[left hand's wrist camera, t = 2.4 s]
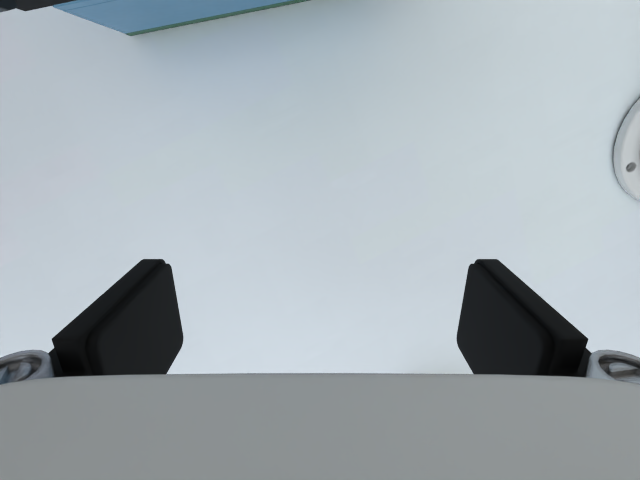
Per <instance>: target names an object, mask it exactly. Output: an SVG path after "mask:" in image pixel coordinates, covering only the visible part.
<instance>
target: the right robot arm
mask: <svg viewBox="0 0 640 480" xmlns="http://www.w3.org/2000/svg"><path fill="white" fill-rule="evenodd" d="M71 1H76V0H0V12H3V11H8V10H12V9H15V8H17V9H20V10H23V11H28V10H33V9H38V8H43V7H47V6H52V5H57V4H62V3H67V2H71Z"/></svg>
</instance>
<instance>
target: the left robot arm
mask: <svg viewBox="0 0 640 480" xmlns="http://www.w3.org/2000/svg"><path fill="white" fill-rule="evenodd" d="M613 162H614V170H615V174H616V176H617V179H618V182H619V183H620V185H621V186H622V188H623V189H624V190H625V192H627V193H628V194H629V195H630V196H632V197H633V198H634V199H637V200H639V201H640V98H639V99H638V101H637V102H636V103H635V104H634V105H633V106H632V108H631V110H630V111H629V113H628V114H627V116H626V117H625V119H624V121H623V123H622V125H621V128H620V130H619V132H618V135H617V139H616V142H615V146H614V157H613ZM52 342H53V345H54V349H53V350H51V351H50V352H49V353H47V352H44V351H42V350H27V351H20V352H16V353H13V354H9V355H6V356H4V357H1V358H0V480H640V358H639V357H636V356H634V355H631V354H627V353H624V352H620V351H613V350H598V351H596V352H593V353H591V352H590V351H589V350H587V349H586V345H587V342H588V338H587V337H585V336H584V335H583V334H582V333H581V332H580V331H579V330H577V329H576V328H575V327H574V326H573V325H572V324H571V323H569V322H568V321H567V320H566V319H565V318H564V317H563V316H561V315H560V314H559V313H558V312H557V311H556V310H555V309H554V308H552V307H551V306H550V305H549V304H548V303H547V302H546V301H544V300H543V299H542V298H541V297H540V296H539V295H538V294H536V293H535V292H534V291H533V290H532V289H531V288H530V287H528V286H527V285H526V284H525V283H524V282H523V281H522V280H520V279H519V278H518V277H517V276H516V275H515V274H514V273H512V272H511V271H510V270H509V269H508V268H507V267H506V266H504V265H503V264H502V263H501V262H500V261H499V260H497V259H477V260H476V261H475V263H474V264H471V265H470V266H469V269H468V274H467V280H466V285H465V291H464V297H463V303H462V309H461V315H460V320H459V326H458V332H457V344H458V347H459V349H460V351H461V352H462V354H463V356H464V358H465V360H466V361H467V363H468V365H469V367H470V368H471V370H472V372H473V374H377V373H247V374H167V372H168V370H169V368H170V367H171V365H172V363H173V361H174V360H175V358H176V356H177V354H178V352H179V351H180V349H181V347H182V344H183V332H182V326H181V320H180V315H179V309H178V303H177V297H176V291H175V285H174V280H173V274H172V269H171V266H170V265H169V264H166V263H165V261H164V260H163V259H143V260H141V261H140V262H139V263H138V264H137V265H136V266H134V267H133V268H132V269H131V270H130V271H129V272H128V273H126V274H125V275H124V276H123V277H122V278H121V279H120V280H118V281H117V282H116V283H115V284H114V285H113V286H112V287H110V288H109V289H108V290H107V291H106V292H105V293H104V294H102V295H101V296H100V297H99V298H98V299H97V300H96V301H94V302H93V303H92V304H91V305H90V306H89V307H88V308H86V309H85V310H84V311H83V312H82V313H81V314H80V315H79V316H77V317H76V318H75V319H74V320H73V321H72V322H71V323H69V324H68V325H67V326H66V327H65V328H64V329H63V330H61V331H60V332H59V333H58V334H57V335H56V336H55V337H53V338H52Z"/></svg>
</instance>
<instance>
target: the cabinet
mask: <svg viewBox="0 0 640 480" xmlns="http://www.w3.org/2000/svg"><path fill="white" fill-rule="evenodd" d="M304 1H309V0H76V1H71V2H67V3H62V4H57V5H53V7H54V8H57V9H60V10H63V11H65V12H67V13H70V14H73V15H76V16H78V17H81V18H84V19H87V20H89V21H92V22H95V23H98V24H100V25H103V26H106V27H109V28H111V29H114V30H117V31H120V32H122V33H125V34H127V35H130V36H133V35H138V34H143V33H148V32H153V31H158V30H163V29H168V28H173V27H178V26H183V25H188V24H193V23H198V22H203V21H208V20H213V19H218V18H223V17H228V16H233V15H238V14H243V13H249V12H254V11H259V10H264V9H269V8H274V7H279V6H284V5H289V4H294V3H299V2H304Z"/></svg>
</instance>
